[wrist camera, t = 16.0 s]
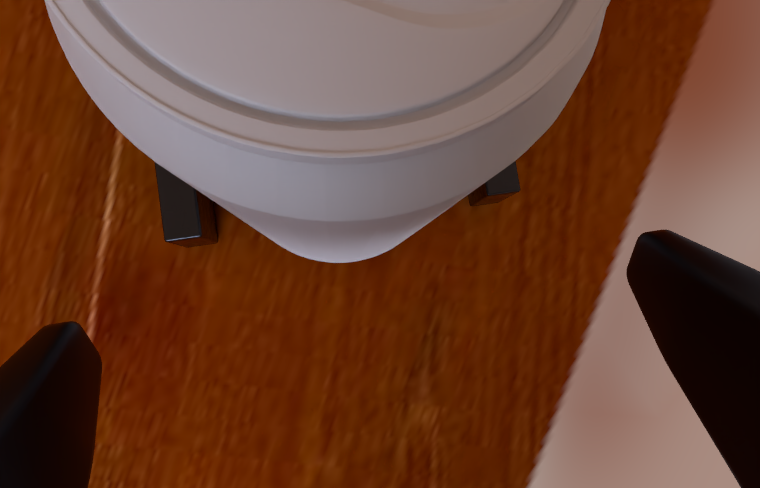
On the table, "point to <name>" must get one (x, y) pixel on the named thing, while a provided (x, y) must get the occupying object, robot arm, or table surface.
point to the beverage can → (331, 101)
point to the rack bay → (197, 219)
